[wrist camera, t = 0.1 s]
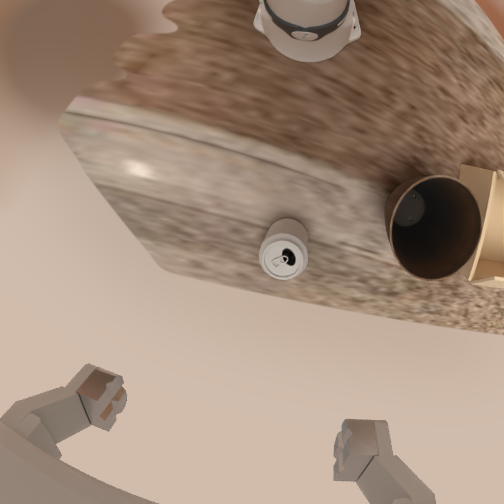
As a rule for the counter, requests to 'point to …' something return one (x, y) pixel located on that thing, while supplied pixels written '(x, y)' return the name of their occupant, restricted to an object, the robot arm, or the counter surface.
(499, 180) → the carton
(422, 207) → the plant pot
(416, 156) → the counter surface
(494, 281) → the flap
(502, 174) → the flap
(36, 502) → the robot arm
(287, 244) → the can
